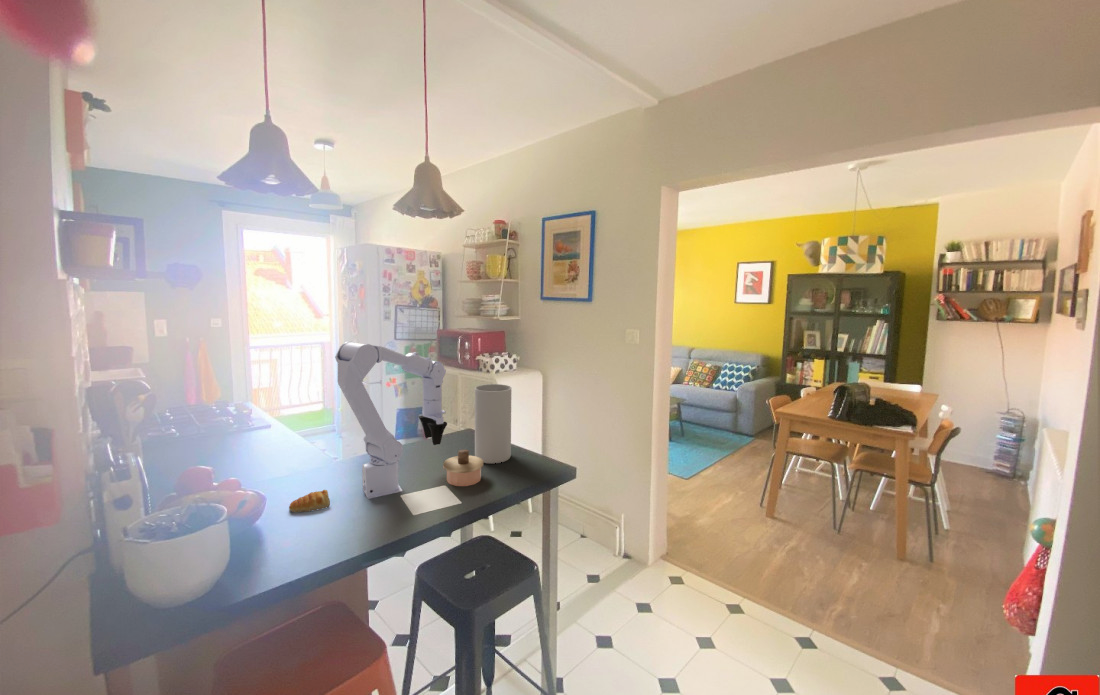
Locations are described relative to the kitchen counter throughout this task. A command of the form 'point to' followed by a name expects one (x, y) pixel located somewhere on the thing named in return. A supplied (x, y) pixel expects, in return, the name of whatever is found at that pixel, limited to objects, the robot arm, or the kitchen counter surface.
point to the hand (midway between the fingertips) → (432, 440)
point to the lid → (463, 463)
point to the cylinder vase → (493, 423)
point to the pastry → (311, 502)
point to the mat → (430, 500)
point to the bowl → (464, 478)
